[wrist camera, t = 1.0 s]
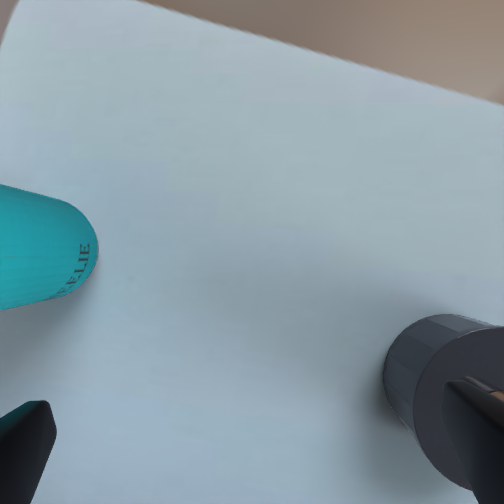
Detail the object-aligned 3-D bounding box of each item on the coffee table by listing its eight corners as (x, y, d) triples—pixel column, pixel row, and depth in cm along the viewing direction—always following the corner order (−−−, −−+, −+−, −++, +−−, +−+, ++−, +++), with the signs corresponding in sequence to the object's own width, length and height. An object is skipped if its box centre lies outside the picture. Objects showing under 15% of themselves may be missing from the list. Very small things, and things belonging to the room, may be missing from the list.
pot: (496, 451, 22) (553, 499, 18) (371, 425, 23) (399, 467, 18) (521, 327, 22) (585, 346, 18) (396, 302, 23) (430, 315, 18)
